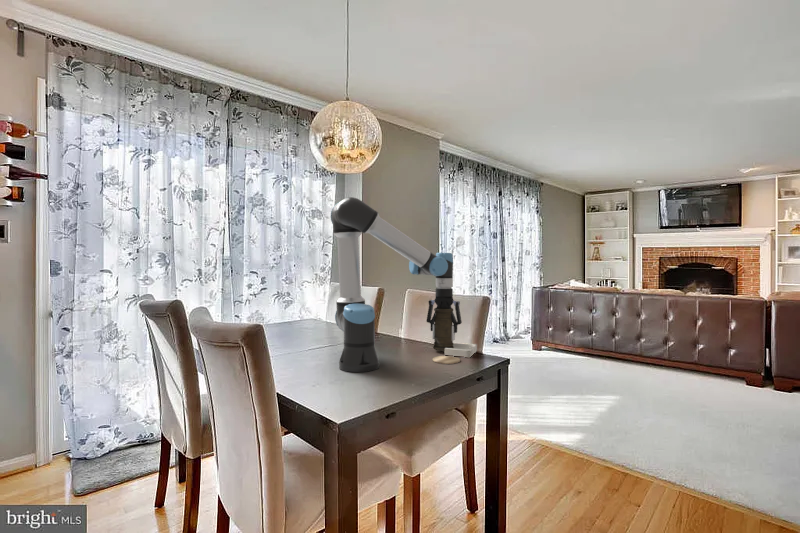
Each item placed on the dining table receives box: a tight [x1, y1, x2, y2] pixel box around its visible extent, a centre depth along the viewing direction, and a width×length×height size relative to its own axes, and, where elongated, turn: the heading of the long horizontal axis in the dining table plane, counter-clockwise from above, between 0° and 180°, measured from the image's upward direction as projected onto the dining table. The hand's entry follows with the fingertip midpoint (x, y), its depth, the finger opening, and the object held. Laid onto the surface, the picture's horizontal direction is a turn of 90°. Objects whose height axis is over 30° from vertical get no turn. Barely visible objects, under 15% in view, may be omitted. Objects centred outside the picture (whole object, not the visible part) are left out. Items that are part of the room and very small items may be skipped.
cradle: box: [444, 341, 478, 358], centre depth 182 cm, size 11×14×3 cm
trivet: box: [432, 355, 461, 365], centre depth 169 cm, size 11×11×1 cm
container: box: [432, 307, 454, 352], centre depth 185 cm, size 9×9×18 cm
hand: (443, 339), depth 185 cm, fingers closed on container, 8 cm apart
